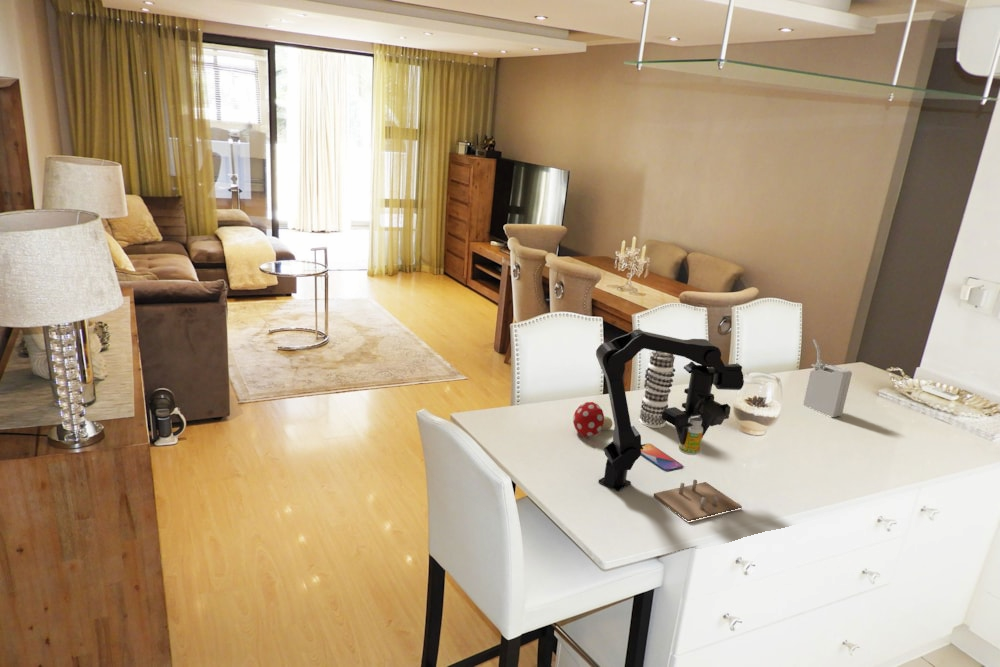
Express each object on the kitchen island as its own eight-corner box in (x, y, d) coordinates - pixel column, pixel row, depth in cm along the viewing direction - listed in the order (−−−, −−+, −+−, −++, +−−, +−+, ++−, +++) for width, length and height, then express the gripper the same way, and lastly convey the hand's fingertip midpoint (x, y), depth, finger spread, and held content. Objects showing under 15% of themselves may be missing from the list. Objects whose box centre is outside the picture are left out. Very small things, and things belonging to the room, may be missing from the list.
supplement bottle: (685, 456, 175) (691, 422, 172) (674, 447, 180) (680, 414, 177) (703, 455, 176) (709, 421, 173) (691, 446, 181) (697, 413, 178)
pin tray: (687, 523, 162) (690, 508, 161) (653, 496, 173) (655, 483, 172) (741, 509, 170) (744, 495, 169) (705, 485, 181) (707, 472, 180)
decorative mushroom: (614, 400, 213) (585, 392, 203) (629, 429, 206) (600, 422, 196) (590, 419, 218) (561, 413, 208) (604, 448, 211) (574, 443, 201)
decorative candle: (669, 429, 215) (681, 356, 208) (640, 427, 215) (651, 354, 208) (663, 418, 224) (674, 347, 217) (635, 415, 224) (646, 345, 217)
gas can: (796, 402, 249) (810, 338, 242) (805, 400, 251) (820, 337, 244) (832, 418, 236) (848, 351, 229) (841, 416, 238) (857, 350, 231)
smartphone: (664, 473, 187) (665, 470, 187) (630, 449, 199) (631, 446, 199) (684, 469, 190) (684, 466, 190) (649, 446, 203) (649, 443, 202)
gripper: (695, 404, 162) (685, 461, 166) (749, 395, 170) (738, 450, 175) (664, 387, 171) (655, 442, 175) (717, 380, 180) (707, 433, 184)
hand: (690, 442), depth 177 cm, fingers closed on supplement bottle, 5 cm apart
